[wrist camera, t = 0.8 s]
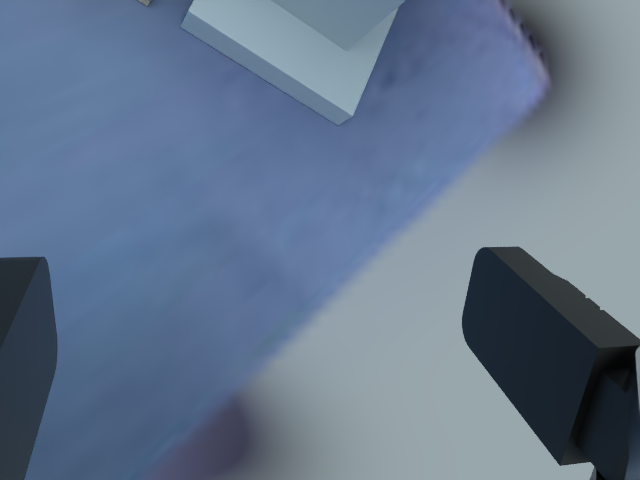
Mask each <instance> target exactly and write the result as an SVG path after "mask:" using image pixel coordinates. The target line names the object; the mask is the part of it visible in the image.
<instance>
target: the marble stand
mask: <svg viewBox="0 0 640 480" xmlns="http://www.w3.org/2000/svg"><path fill="white" fill-rule="evenodd" d="M138 1H139V2H141V3H143V4H144V5H146V6H147V7H148V5H149V3H150V2H151V0H138Z"/></svg>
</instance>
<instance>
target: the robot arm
mask: <svg viewBox="0 0 640 480" xmlns="http://www.w3.org/2000/svg"><path fill="white" fill-rule="evenodd" d="M462 328H463V334H464V338H465V341H466V343H467V345H468V346H469V348H470V349H471V350H472V352H473V353H474V354H475V356H476V357H477V358H478V360H479V361H480V362H481V363H482V365H483V366H484V367H485V369H486V370H487V371H488V373H489V374H490V375H491V376H492V378H493V379H494V380H495V382H496V383H497V384H498V386H499V387H500V388H501V389H502V391H503V392H504V393H505V395H506V396H507V397H508V399H509V400H510V401H511V403H512V404H513V405H514V406H515V408H516V409H517V410H518V412H519V413H520V414H521V415H522V417H523V418H524V419H525V421H526V422H527V423H528V425H529V426H530V427H531V429H532V430H533V431H534V433H535V434H536V435H537V436H538V438H539V439H540V440H541V442H542V443H543V444H544V446H545V447H546V448H547V449H548V451H549V452H550V453H551V455H552V456H553V457H554V459H555V460H556V461H557V463H558V464H559V465H560V466H561V465H569V464H577V463H586V462H591V463H592V464H593V465H594V469H593V472H592V474H591V477H590V480H640V339H639V338H637V337H636V336H635V335H634V334H632V333H631V332H630V331H629V330H628V329H626V328H625V327H624V326H623V325H621V324H620V323H619V322H618V321H616V320H615V319H614V318H613V317H611V316H610V315H609V314H608V313H607V312H605V311H604V310H600V307H599V306H598V305H597V304H595V303H594V302H593V301H592V300H591V299H589V298H585V295H584V294H583V293H582V292H581V291H579V290H578V289H577V288H576V287H575V286H573V285H572V284H571V283H570V282H568V281H566V280H564V279H562V278H560V277H558V276H556V275H554V274H552V273H551V272H550V271H549V270H548V269H546V268H545V267H544V266H543V265H542V264H540V263H539V262H538V261H537V260H535V259H534V258H533V257H532V256H531V255H529V254H528V253H527V252H526V251H524V250H523V249H521V248H520V247H484V248H481V249H480V250H479V251H478V252H477V254H476V256H475V259H474V263H473V268H472V272H471V277H470V282H469V287H468V292H467V296H466V301H465V306H464V310H463V316H462ZM56 363H57V332H56V324H55V316H54V307H53V299H52V291H51V282H50V274H49V268H48V263H47V260H46V259H45V257H13V258H0V480H24V478H25V474H26V471H27V467H28V464H29V460H30V457H31V454H32V450H33V447H34V443H35V440H36V436H37V433H38V429H39V426H40V422H41V419H42V415H43V412H44V408H45V405H46V401H47V398H48V394H49V391H50V388H51V384H52V381H53V377H54V374H55V369H56Z"/></svg>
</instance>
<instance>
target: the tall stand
mask: <svg viewBox="0 0 640 480" xmlns="http://www.w3.org/2000/svg"><path fill="white" fill-rule="evenodd" d="M404 1H406V0H194V1H193V3H192V5H191V6H190V8H189V10H188V12H187V14H186V16H185V18H184V20H183V22H182V25H181V28H183V29H184V30H186V31H187V32H189V33H191V34H192V35H194V36H195V37H197V38H199V39H200V40H202V41H203V42H205V43H207V44H208V45H210V46H211V47H213V48H215V49H216V50H218V51H219V52H221V53H223V54H224V55H226V56H227V57H229V58H231V59H232V60H234V61H235V62H237V63H239V64H240V65H242V66H243V67H245V68H247V69H248V70H250V71H251V72H253V73H255V74H256V75H258V76H259V77H261V78H263V79H264V80H266V81H267V82H269V83H271V84H272V85H274V86H275V87H277V88H279V89H280V90H282V91H283V92H285V93H287V94H288V95H290V96H291V97H293V98H295V99H296V100H298V101H299V102H301V103H303V104H304V105H306V106H307V107H309V108H311V109H312V110H314V111H315V112H317V113H318V114H320V115H322V116H323V117H325V118H326V119H328V120H330V121H331V122H333V123H334V124H336V125H340V124H341V123H343V122H344V121H346V120H348V119H349V118H351V117H352V116H353V114H354V112H355V110H356V107H357V105H358V103H359V100H360V98H361V96H362V93H363V91H364V88H365V86H366V84H367V81H368V79H369V77H370V74H371V72H372V69H373V67H374V65H375V62H376V60H377V58H378V55H379V53H380V50H381V48H382V46H383V43H384V41H385V39H386V36H387V34H388V32H389V29H390V27H391V24H392V22H393V20H394V17H395V15H396V13H397V10H398V8H399V6H400V5H401V4H402V3H403V2H404Z"/></svg>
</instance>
